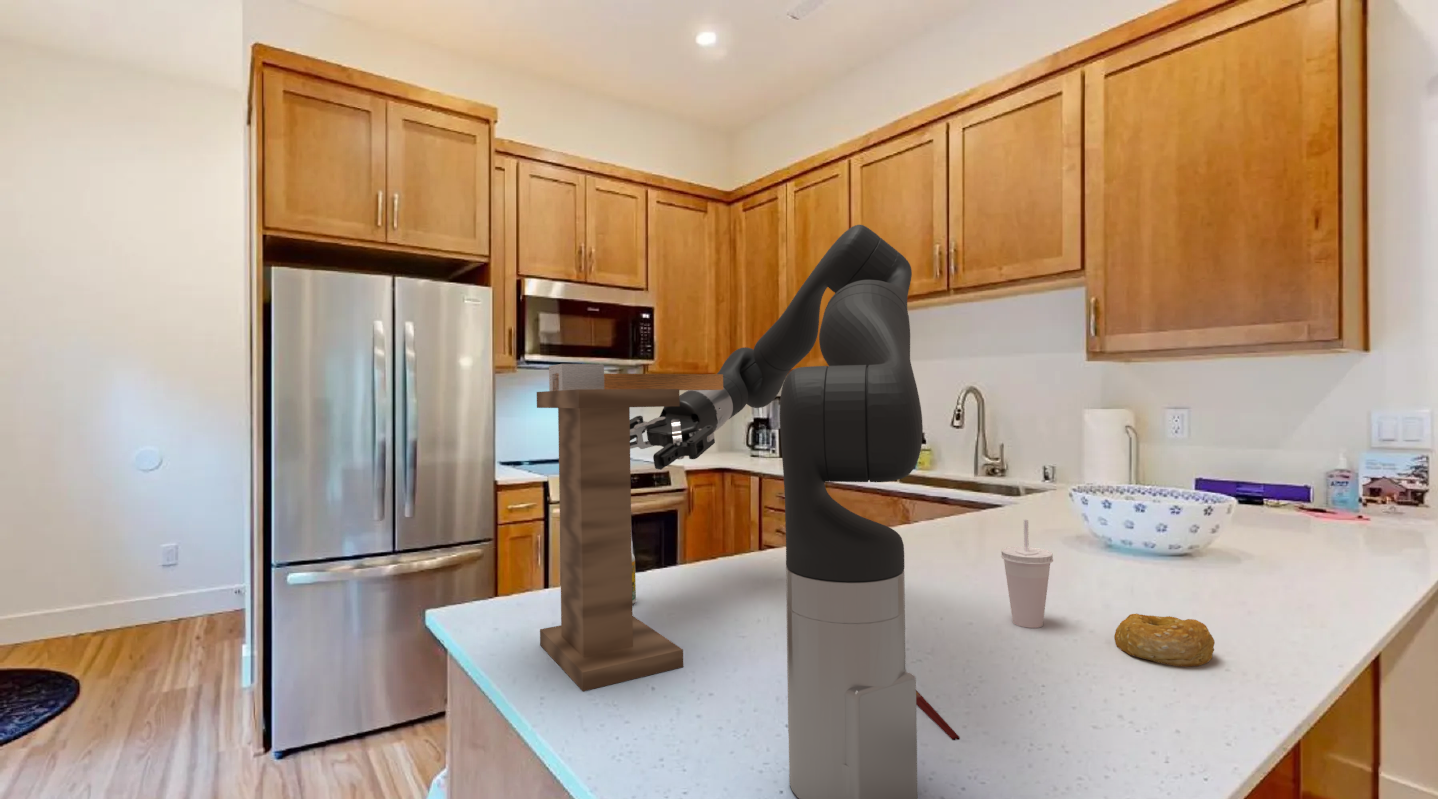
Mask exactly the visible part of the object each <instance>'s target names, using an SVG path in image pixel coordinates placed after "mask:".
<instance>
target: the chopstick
mask: <svg viewBox="0 0 1438 799" xmlns="http://www.w3.org/2000/svg"><path fill="white" fill-rule="evenodd" d="M916 706H917V707H918V708H919V709H920V710H921V711H922V712H923V713H924V714H925V715H926V716H928V718H930V719H931V720H932V721H933V722H934V723H935V725H937V726H938V727H939V728H940V729H941V730H942V731H943V732H944V733H945V734H946V735H947V736H948V737H949V738H950V739H951V740H952V741H956V740H960V739H961V737H960V735H958V734H957V732H956V731H955V730H954V729H953V728H952V727H951V726H950V725H949V724H948V722H946V721H945V719H944V718H943V717H942V716H941V715H940V714H939V713H938V712H937V711H936V710H935V708H933V706H932V705H931V704H930V703H929V702H928V700H926V699H925V698H924V697H923V695H922V694H921V693H920V692H919V691H918V690H917V689H916Z"/></svg>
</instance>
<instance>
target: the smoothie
mask: <svg viewBox="0 0 1438 799" xmlns="http://www.w3.org/2000/svg"><path fill="white" fill-rule="evenodd" d="M1029 543H1030V542H1029V520H1028V519H1023V546H1009V547H1008V546H1007V547H1004V548H1002V549H1001V551H1000V552H1001V554H1000V557H1001V559H1003V563H1004V570H1005V577H1006V585H1007V590H1008V598H1009V605H1010V612H1011V618H1012V623H1013V624H1014V625H1016V626H1018V627H1021V628H1022V627H1023V628H1026V629H1038V628H1041V627H1043V626H1044V619H1045V611H1046V603H1047V595H1048V594H1047V593H1048V588H1049V587H1048V584H1049V580H1050V579H1049V577H1050V570H1051V569H1050V568H1051V563H1053V562H1054V558H1053V556H1054V555H1053V553H1052V551H1050V550H1047V549H1044V548H1038V547H1032V546H1029Z"/></svg>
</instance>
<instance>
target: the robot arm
mask: <svg viewBox="0 0 1438 799" xmlns="http://www.w3.org/2000/svg"><path fill="white" fill-rule="evenodd" d="M912 272H913V270H912V266H911V264H910V262H909V261H908V260H907V259H906V257H905V256H904V254H902V253H901V252H899V251H898V250H897V249H895V247H893V246H892V245H891V244H889V243H888V242H887V241H885V239H883V238H881V237H880V236H879V235H878V234H877V233H876V232H875V231H873V230H872V229H870V228H868V227H867V226H865V225H864V224H856V225H853V226H852V227H849V228H848V229H847V230H845V231H844V232H843V233H842V234H841V235H840V236H839V237H838V238H837V240H836V241H835V242H834V243H833V244H832V245H831V246H830V248H829V249H828V250H827V251H826V253H825V254H824V255H823V257H822V258H821V259H820V261H819V262H818V263H817V265H816V266H815V267H814V269H813V270H812V272H811V273H810V274H809V275H808V277H807V278H806V280H805V281H804V282H803V283H802V285H801V287H799V289H798V291H797V293H795V295H794V297H793V298H792V300H791V301H790V303H789V305H788V306H787V308H786V309H785V310H784V312H783V313H782V314H781V316H780V317H779V318H778V319H776V321H775V322H774V323H773V324H772V326H771V327H769V328H768V330H766V332H765V333H764V334H763V335H762V336H761V337H760V338H759V339H758V340H757V342H756V343H755V344H754V347H753V348H750V347H740V348H738V349H736V350H734V351H733V352H731V354H730V355H729V356H728V357H727V358H726V360H725V361H724V363H723V364H722V366H721V368H720V370H719V371H718V372H717V373H716V374H723V390H685V392H683V393H681V394H679V400H680V406H670V407H663V408H662V410H661V413H660V415H659V416H657V417H654V418H653V419H651V420H649V421H644V416H643V415H636V416H634V417H633V418H630V450H631V449H635V448H639V449H640V450H645V449H648V448H653V447H656V446H658V447H662V448H661V449H659V450H658V451H656V452H655V453H654V454H653V456H652V457H653V459H652V460H653V465H654V469H655V470H663V469H664V468H666V467H668V466H670V465H671V464H672V463H674V462H675V461H676V460H682V459H685V457H688V459H689V460H696V459H698V458H699V457H700V456H701V455H702V454H704V453H705V452H706V451H707V450H708V449H709V448H711V447H712V446H713V445H714V444H716V440H715V432H716V431H718V430H719V429H721V428H722V427H723V426H724V425H725V424H726V422H728V421H729V420H731V419H732V418H733V417H734V416H736V415H737V414H739V413H740V412H741V411H742V410H743V409H744V408H745V407H746V405H747V406H748V407H751V408H752V409H753V408H754V409H762V408H763V407H767V406H768V405H770V404H771V403H772V402H773V401H775V399H776V397H777V396H778V394H779V393H780V401H779V403H780V404H779V431H780V445H781V446H780V448H781V459H782V472H783V488H784V490H783V491H784V511H785V512H784V516H785V518H784V519H785V521H784V523H785V566H786V567H785V573H786V574H785V577H786V579H785V581H786V582H785V583H786V584H785V586H786V595H785V596H786V655H787V656H786V657H787V659H786V662H787V664H786V667H787V670H786V673H787V676H786V678H787V728H788V730H787V731H788V732H787V733H788V768H789V770H788V773H789V774H788V776H789V777H788V778H789V779H788V780H789V785H790V788H791V790H792V792H793V793H794V795H795V796H796V798H798V799H919V798H918V796H919V795H918V793H919V791H918V739H917V738H918V735H917V734H918V733H917V732H918V730H917V728H918V726H917V704H916V690H917V678H916V676H915V675H914V674H913V673H910V672H909V671H907V669H906V666H907V664H906V663H907V662H906V614H905V613H906V610H905V609H906V600H905V599H906V597H905V596H906V594H905V590H906V589H905V586H906V585H905V582H906V581H905V545H904V542H903V538H902V536H901V535H900V534H899V533H898V531H896V530H895V529H893V528H892V527H889V526H887V525H885V524H882V523H880V522H876V521H874V520H871V519H869V518H866V517H863V516H861V515H859V514H857V513H855V512H853V511H851V510H849V509H848V508H846V507H845V506H843V505H841V504H840V503H839V502H837V501H836V500H835V499H834V497H832V496H831V495H830V494H829V492H828V490H827V488H826V484H825V483H828V482H830V483H831V482H832V483H833V482H834V483H837V482H838V483H868V482H870V483H888V482H894V481H898V480H902V479H905V478H906V477H908V476H909V475H910V474H911V473H912V472H913V470H914V469H915V467H916V466H917V464H918V461H919V458H920V455H921V450H922V444H923V431H924V430H923V429H924V428H923V414H922V405H921V402H920V395H919V392H918V387H917V382H916V378H915V375H914V371H913V367H912V362H911V326H910V325H911V324H910V323H911V322H910V316H909V312H908V296H909V292H910V291H909V290H910V286H911V282H912V276H913V274H912ZM827 289H829V290H830V291H832V292H833V293H834V294H833V295H832V297H831V298H830V299H829V300H828V303H827V305H826V306H825V309H824V313H823V315H822V320H821V324H820V313H821V312H820V311H821V304H822V299H823V296H824V294H825V292H826V291H827ZM819 326H820V328H819ZM817 338H818V339H819V340H818V342H819V349H820V352H821V355H822V357H823V360H824V361H825V362H826V363H827V365H816V366H815V365H814V366H799V367H796V368H795V366H797V364H799V363H800V362H801V361H802V360H803V359H804V358H805V357H806V356H808V354H809V353H810V352H811V351H812V349H813V347H814V346H815V344H816V342H817ZM793 368H794V369H793ZM780 391H781V392H780ZM644 433H646V437H647V440H646V441H644V438H643V434H644ZM632 440H634V441H632Z"/></svg>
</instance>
